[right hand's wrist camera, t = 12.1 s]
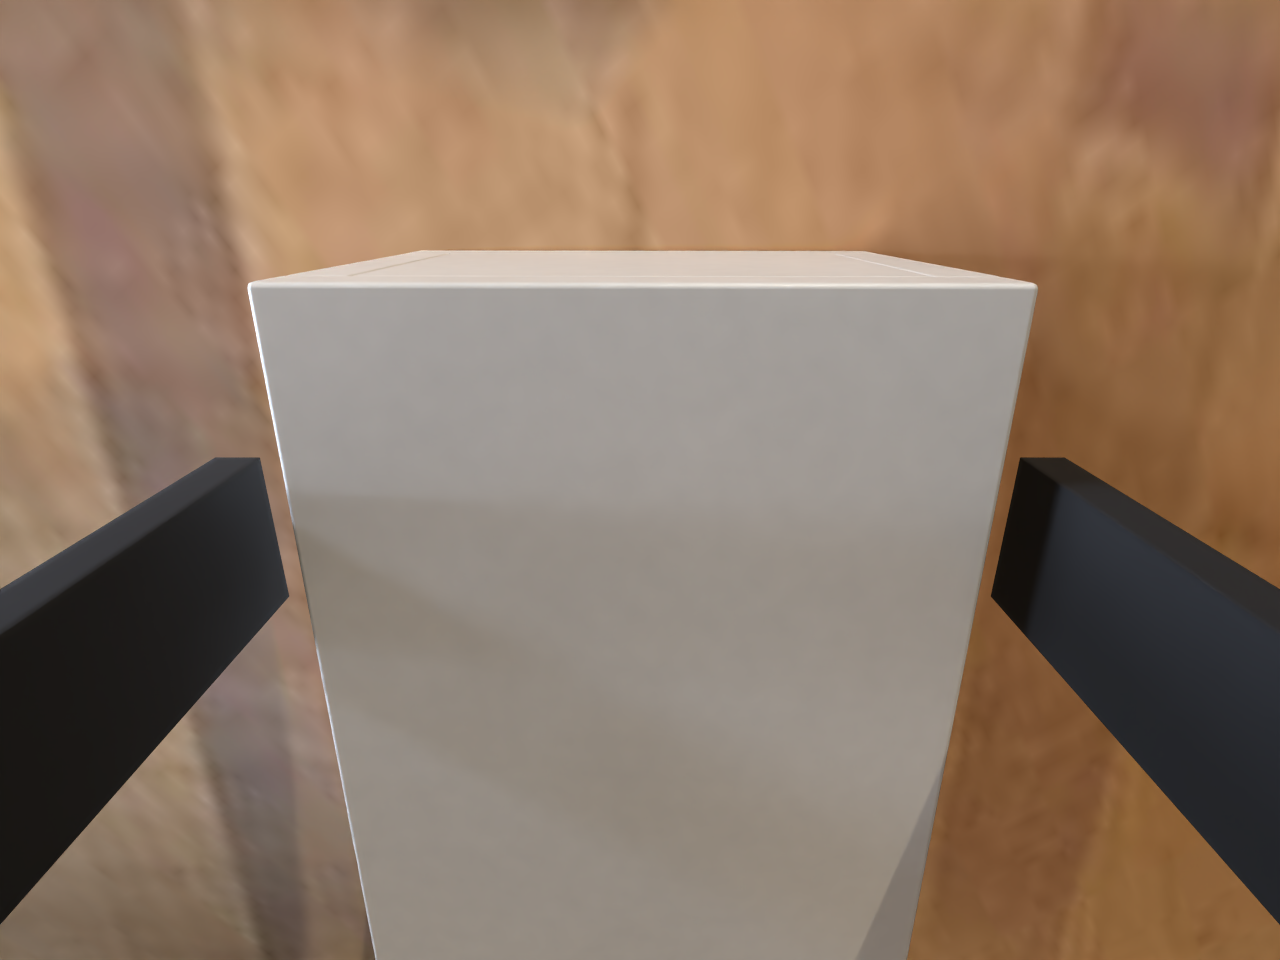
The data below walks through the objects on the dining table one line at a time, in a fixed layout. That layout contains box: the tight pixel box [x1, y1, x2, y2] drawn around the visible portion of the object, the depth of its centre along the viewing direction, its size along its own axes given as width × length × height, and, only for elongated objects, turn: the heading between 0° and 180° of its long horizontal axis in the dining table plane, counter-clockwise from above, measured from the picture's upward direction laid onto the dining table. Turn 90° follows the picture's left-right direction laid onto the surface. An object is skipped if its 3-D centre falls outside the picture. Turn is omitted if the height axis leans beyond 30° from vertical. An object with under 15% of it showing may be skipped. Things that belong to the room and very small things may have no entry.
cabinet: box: [248, 250, 1038, 960], centre depth 17 cm, size 18×11×8 cm, turn 0°
